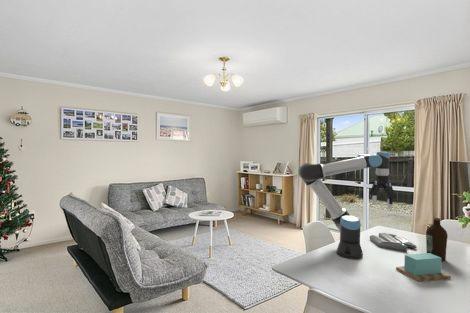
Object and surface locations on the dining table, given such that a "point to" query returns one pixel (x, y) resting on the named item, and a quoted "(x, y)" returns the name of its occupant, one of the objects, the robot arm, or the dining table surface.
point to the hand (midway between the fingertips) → (381, 207)
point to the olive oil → (436, 239)
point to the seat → (424, 277)
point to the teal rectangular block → (422, 264)
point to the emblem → (392, 242)
